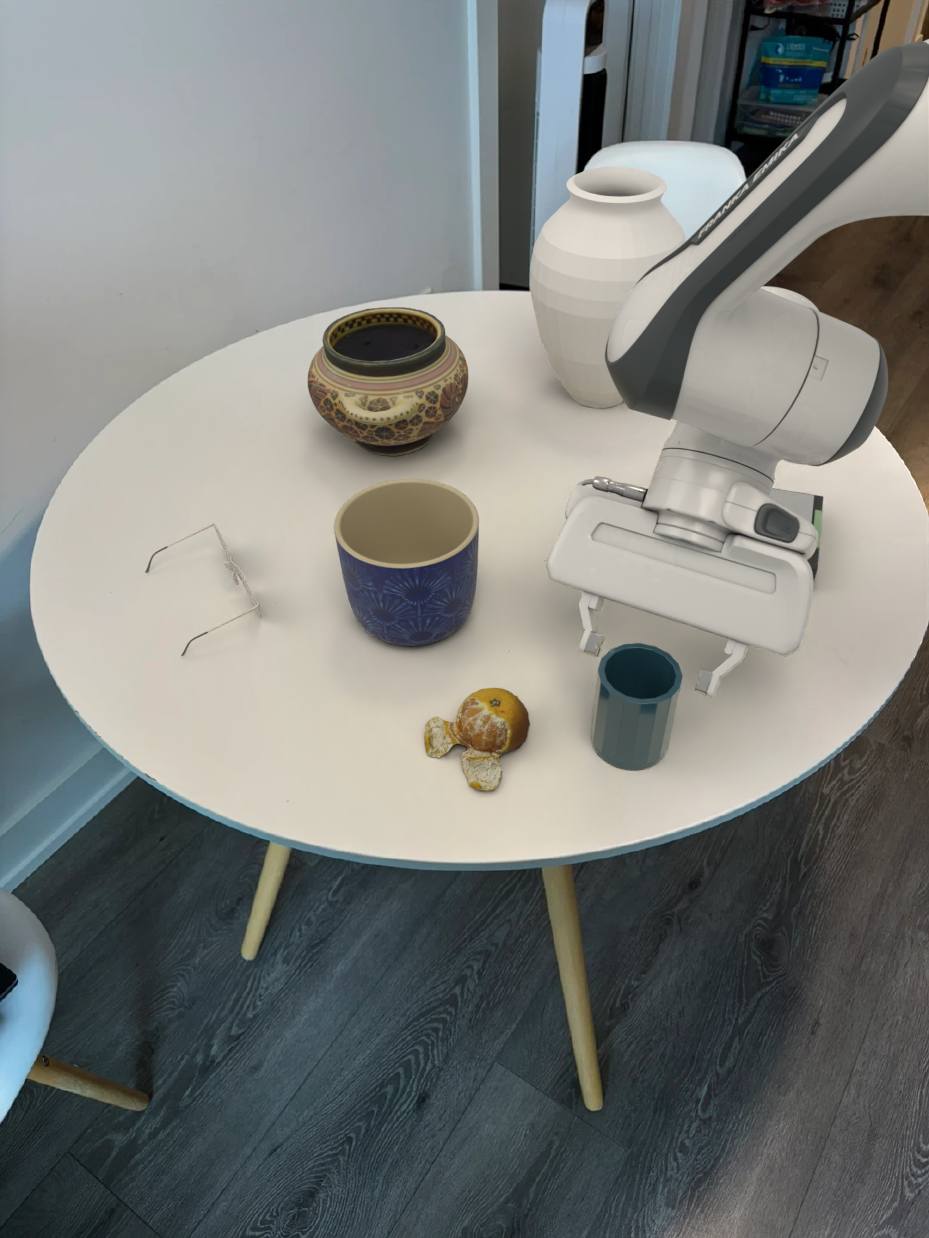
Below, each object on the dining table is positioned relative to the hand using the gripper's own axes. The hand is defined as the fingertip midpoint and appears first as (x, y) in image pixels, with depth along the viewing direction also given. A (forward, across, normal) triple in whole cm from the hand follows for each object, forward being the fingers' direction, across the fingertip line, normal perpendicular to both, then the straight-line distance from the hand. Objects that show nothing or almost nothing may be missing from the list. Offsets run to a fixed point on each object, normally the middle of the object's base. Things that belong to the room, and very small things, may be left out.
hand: (644, 674), depth 72 cm
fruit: (+10, -11, -1) cm, 15 cm away
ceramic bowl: (-16, -41, +25) cm, 50 cm away
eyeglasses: (+8, -42, +2) cm, 43 cm away
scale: (-15, +1, +24) cm, 29 cm away
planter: (+2, -23, +7) cm, 24 cm away
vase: (-29, -23, +38) cm, 54 cm away
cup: (+6, 0, +3) cm, 6 cm away
